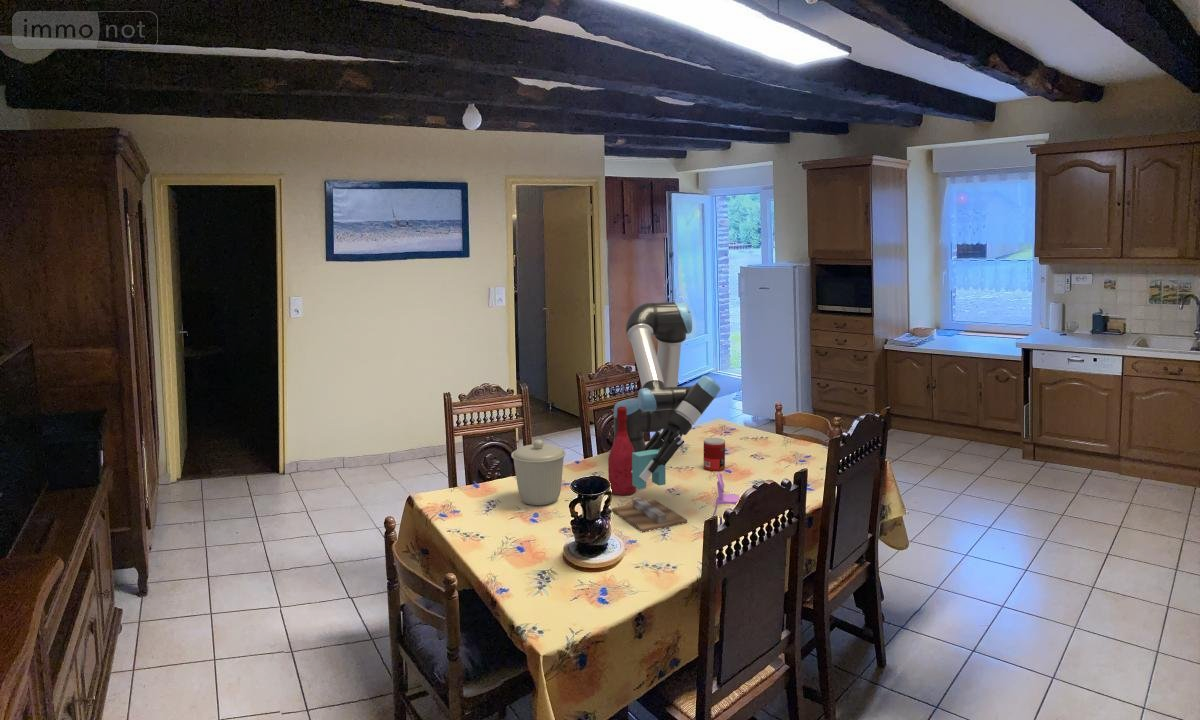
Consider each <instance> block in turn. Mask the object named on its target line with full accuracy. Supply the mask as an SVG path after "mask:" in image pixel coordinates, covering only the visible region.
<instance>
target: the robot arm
mask: <svg viewBox="0 0 1200 720" xmlns="http://www.w3.org/2000/svg"><path fill="white" fill-rule="evenodd" d="M692 318H693V317H692V314H691V310H690V307H689V305H688V304H687V303H686V302H683V301H681V302H680V301H679V302H677V301H671V302H645V303H642V304H640V305H638V306H636V307H635V309H632V312H630V314H629V316H628V318H627V319H626V320H627V321H626V324H625V334H626V338H627V340H628V341H629V342H630V343H631V347H632V350H633V355H634V360H635V364H636V368H637V373H638V378H639V380H640V384H641V388H640V389H639V390H638V391H637V398H627V399H626V398H625V399H623V400H620V401H617V402H616V403H615V404H614V407H613V433H614V434H613V438H614V439H613V443H614V441H615V439H616V436H617V431H618V420H617V409H618V407H626V408H627V420H626V429H627V433H628V437H629V439H630V442H631V444H632V446H633V448H634V451H635V452H641V451H647V450H653V449H660V451H659V452H658V454H657V456H656V457H655V458H653V460H654V461H653V460H651V462H650V463H649V464H648V465H647V467H646V468H645V469H644V471H643V472H642V473H641V474H640V476H639V477H640V478H641V479H642V480H643V481H645V482H646V483H647V481H648V480H649V478H650V477H652V473H653V472H654V471H655V470H656V469H657V467H658V466H660V465H665V466H666V465H667V463H668V462H669V461H670V459H671V458H672V457H673V456H674V454H676V452H677V450H679V448H680V447H681V446H682V445H684V444H685V440H684V439H682V437H683V436H686V435H687V434H688V433H689V432H690V430H692V427H693V425H695V424H696V423H697V421H699V418H700V417H701V416H702V415H703V414H704V413H705V411H706V410H707V408H708V407H709V406H710V405H711V404H712V402H713V401H714V400H715V399H716V398H717V396H718V394H719V393H720V392H721V386H720V385H719V383H718V382H717V381H715V380H714V379H713V378H711V377H709V376H707V375H701V377H700V378H698V379H697V380H696V383H695V384H694V385H688V386H678V382H679V381H678V380H679V369H680V363H681V361H680V359H681V347H682V343H683V342H685V341H686V338H687V335H689V334H691V333H692V332H693V319H692ZM653 337H654V338H655V340H657V351H656V348H655V343H654V339H653ZM645 433H654V434H653V435H652V436H651V438H650V439H649V441H648V442H647V443H646V442H645ZM613 443H612V444H613ZM631 472H632V471H631Z"/></svg>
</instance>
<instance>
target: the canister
mask: <svg viewBox="0 0 1200 720" xmlns="http://www.w3.org/2000/svg"><path fill="white" fill-rule="evenodd" d="M566 453H567V452H566V450H564V449H563V448H561V447H560V446H558V445H554V444H551V443H544V441H543V440H542V439H535V440H534V441H533V442H532V444H527V445H523V446H520V447H519V448H517V449H515V450H514V451H513V452H512V453H510V454H511V458H512V459H513V465H514V471H515V477H516V478H515V479H516V485H517V490H518V491H517V492H518V495H519V498H520V500H521V502H523V503H525V504H526V505H530V506H545V505H549V504H553V503H555V502H556V501H557V500H558V499H559V498H560V495H561V491H562V482H563V481H562V480H563V471H564V468H563V467H564V457H565V456H566Z"/></svg>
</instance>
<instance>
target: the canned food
mask: <svg viewBox="0 0 1200 720" xmlns="http://www.w3.org/2000/svg"><path fill="white" fill-rule="evenodd" d="M725 468H726V440H725V439H723V438H720V437H708V438H704V439H703V469H704V470H705V471H707V470H708V472H713V471H718V472H722V471H724V470H725Z"/></svg>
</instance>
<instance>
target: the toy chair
mask: <svg viewBox="0 0 1200 720" xmlns="http://www.w3.org/2000/svg"><path fill="white" fill-rule="evenodd" d="M716 476H717V482H716V486H717V493H718V495H717V498H716V499H715V500H716V501H715V506H714V512H713V513H712V517H713V516H714V515H715V516H716V515H717V510H718V506H719V505H727V504H728V505H736V503H737V502H738V500H739V498H740V494H727V493H725V482H724V480H723V475H722V473H721V472H718V473H717V474H716ZM736 506H737V505H736Z"/></svg>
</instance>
